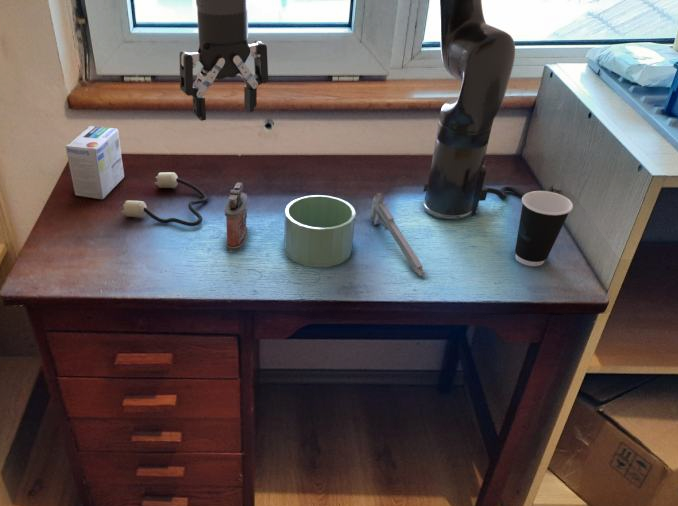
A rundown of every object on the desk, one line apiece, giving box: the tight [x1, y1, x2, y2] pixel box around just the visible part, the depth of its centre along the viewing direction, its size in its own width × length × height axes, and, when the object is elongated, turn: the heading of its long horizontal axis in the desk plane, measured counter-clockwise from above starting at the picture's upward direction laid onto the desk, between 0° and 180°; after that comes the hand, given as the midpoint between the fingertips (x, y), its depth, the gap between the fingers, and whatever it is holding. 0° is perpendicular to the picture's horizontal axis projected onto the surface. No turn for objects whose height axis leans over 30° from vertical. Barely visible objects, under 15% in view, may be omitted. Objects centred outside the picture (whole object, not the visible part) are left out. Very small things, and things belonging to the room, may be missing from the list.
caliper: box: [369, 192, 426, 277], centre depth 116 cm, size 20×1×6 cm, turn 16°
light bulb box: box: [65, 125, 125, 200], centre depth 133 cm, size 11×7×11 cm, turn 164°
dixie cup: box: [514, 190, 574, 267], centre depth 111 cm, size 8×8×11 cm
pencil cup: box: [283, 194, 357, 268], centre depth 115 cm, size 12×12×8 cm
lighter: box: [224, 182, 248, 252], centre depth 117 cm, size 8×3×10 cm, turn 168°
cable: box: [121, 171, 208, 227], centre depth 129 cm, size 16×16×4 cm
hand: (225, 114), depth 108 cm, fingers open, 8 cm apart
